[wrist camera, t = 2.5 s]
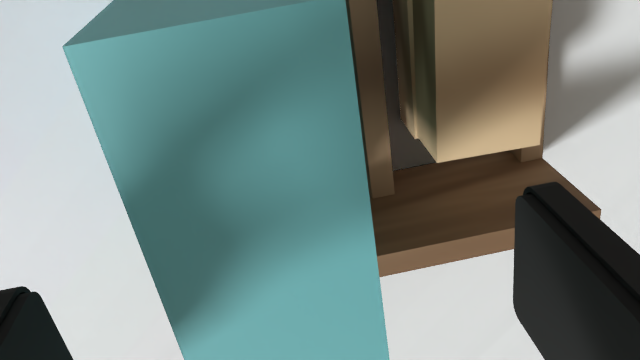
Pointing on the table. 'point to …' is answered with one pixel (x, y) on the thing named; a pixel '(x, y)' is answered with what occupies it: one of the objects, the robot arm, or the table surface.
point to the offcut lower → (405, 62)
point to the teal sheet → (240, 171)
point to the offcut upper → (480, 74)
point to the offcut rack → (436, 178)
